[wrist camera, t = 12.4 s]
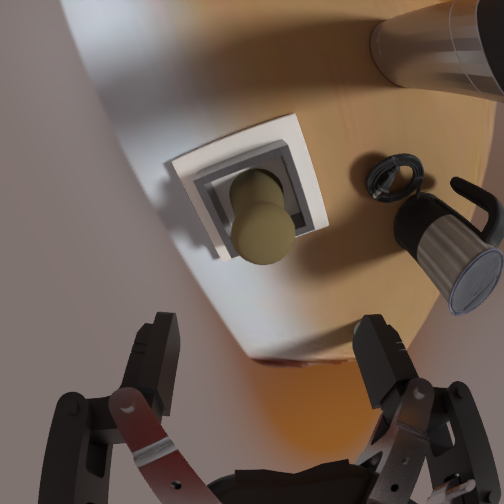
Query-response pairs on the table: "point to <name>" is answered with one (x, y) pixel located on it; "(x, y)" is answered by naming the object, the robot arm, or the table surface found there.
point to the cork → (260, 217)
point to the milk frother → (445, 234)
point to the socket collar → (243, 161)
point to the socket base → (245, 142)
